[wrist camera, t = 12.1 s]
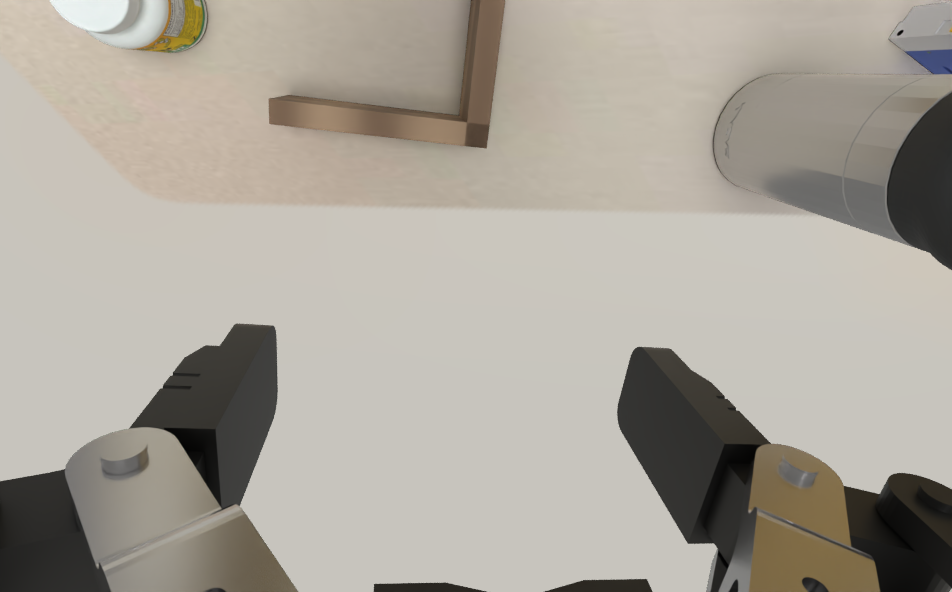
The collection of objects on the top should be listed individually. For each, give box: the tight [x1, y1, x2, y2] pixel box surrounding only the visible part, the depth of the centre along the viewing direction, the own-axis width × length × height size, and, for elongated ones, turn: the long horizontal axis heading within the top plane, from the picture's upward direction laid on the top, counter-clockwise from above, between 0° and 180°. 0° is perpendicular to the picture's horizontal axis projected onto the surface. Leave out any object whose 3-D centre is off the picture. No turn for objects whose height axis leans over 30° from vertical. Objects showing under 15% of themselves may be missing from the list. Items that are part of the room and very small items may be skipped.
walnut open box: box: [269, 0, 505, 148], centre depth 35 cm, size 14×12×6 cm
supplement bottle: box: [50, 0, 207, 53], centre depth 31 cm, size 5×5×10 cm
